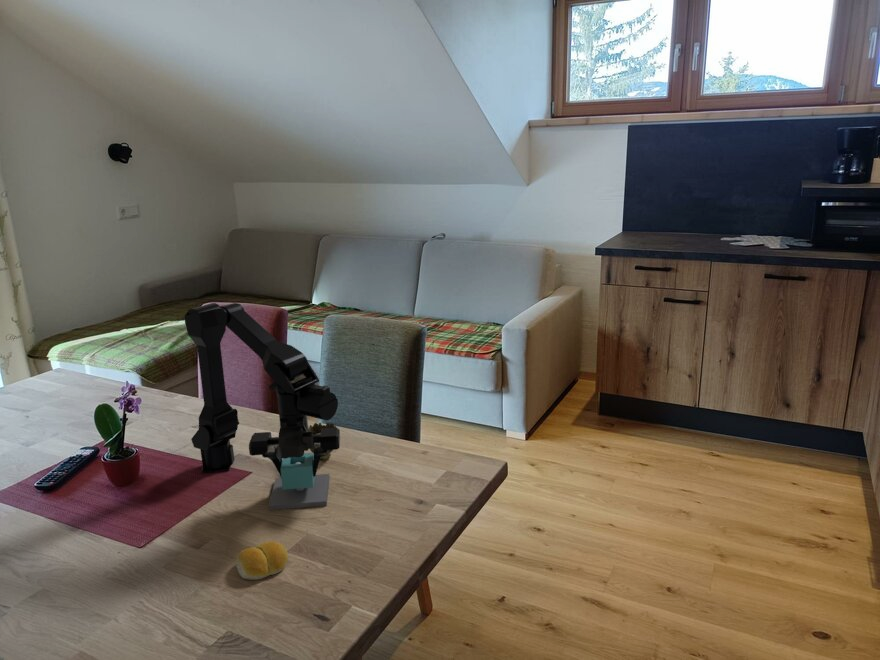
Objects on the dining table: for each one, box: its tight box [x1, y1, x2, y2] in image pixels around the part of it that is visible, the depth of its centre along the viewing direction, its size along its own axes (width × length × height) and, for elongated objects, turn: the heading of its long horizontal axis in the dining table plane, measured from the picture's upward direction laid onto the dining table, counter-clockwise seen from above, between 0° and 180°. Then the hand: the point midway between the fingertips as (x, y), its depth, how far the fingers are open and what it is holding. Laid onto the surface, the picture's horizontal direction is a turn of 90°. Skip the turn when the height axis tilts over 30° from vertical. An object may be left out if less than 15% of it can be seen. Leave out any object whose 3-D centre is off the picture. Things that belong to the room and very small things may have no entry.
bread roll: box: [236, 541, 289, 581], centre depth 119 cm, size 8×9×4 cm
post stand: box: [268, 462, 330, 511], centre depth 142 cm, size 12×12×7 cm
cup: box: [308, 422, 337, 462], centre depth 158 cm, size 8×7×8 cm
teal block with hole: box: [280, 452, 315, 490], centre depth 142 cm, size 6×6×5 cm
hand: (298, 476), depth 142 cm, fingers closed on teal block with hole, 6 cm apart
